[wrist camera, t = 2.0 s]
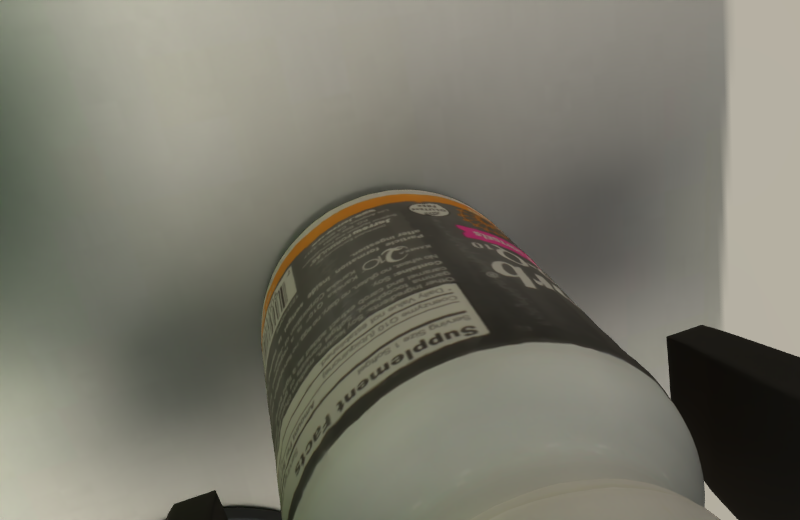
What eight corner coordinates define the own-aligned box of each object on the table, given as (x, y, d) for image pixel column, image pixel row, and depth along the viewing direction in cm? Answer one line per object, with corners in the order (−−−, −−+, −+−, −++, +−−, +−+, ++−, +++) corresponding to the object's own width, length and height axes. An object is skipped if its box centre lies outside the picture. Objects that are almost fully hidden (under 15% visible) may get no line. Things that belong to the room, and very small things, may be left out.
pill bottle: (559, 303, 17) (947, 699, 8) (373, 460, 17) (544, 996, 9) (408, 122, 14) (726, 403, 6) (195, 311, 15) (174, 849, 6)
